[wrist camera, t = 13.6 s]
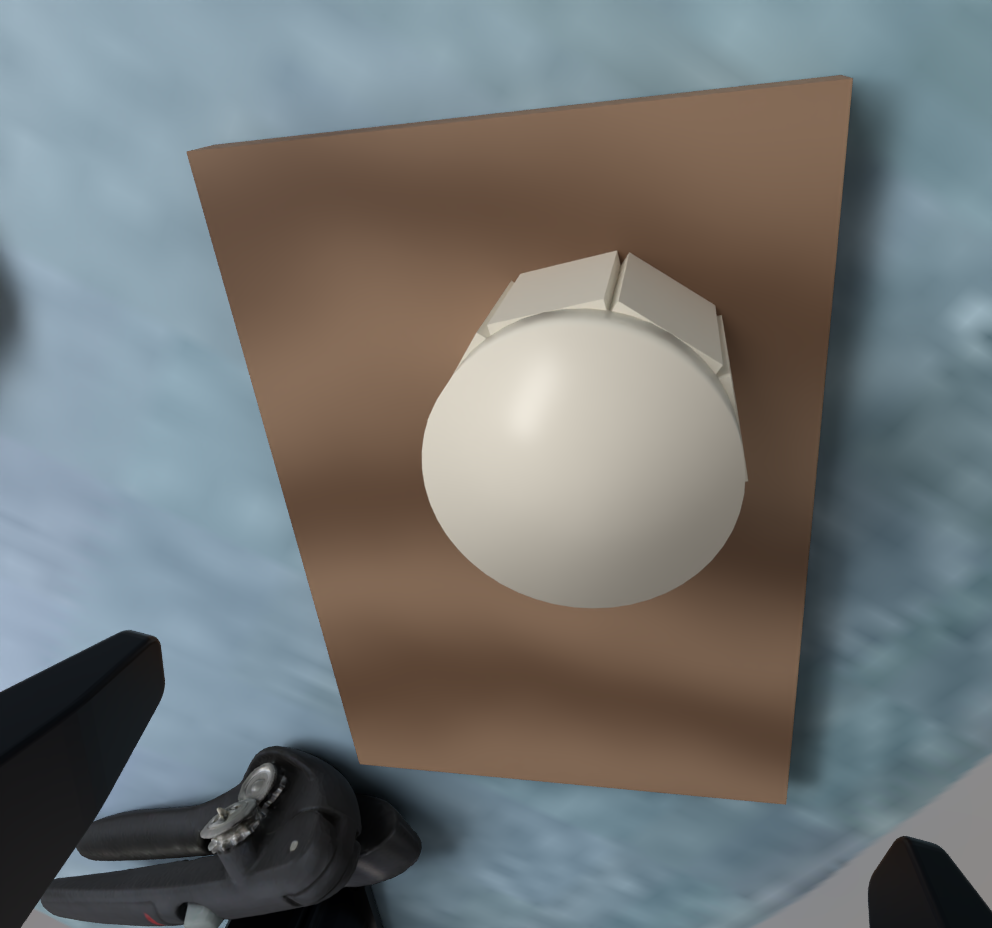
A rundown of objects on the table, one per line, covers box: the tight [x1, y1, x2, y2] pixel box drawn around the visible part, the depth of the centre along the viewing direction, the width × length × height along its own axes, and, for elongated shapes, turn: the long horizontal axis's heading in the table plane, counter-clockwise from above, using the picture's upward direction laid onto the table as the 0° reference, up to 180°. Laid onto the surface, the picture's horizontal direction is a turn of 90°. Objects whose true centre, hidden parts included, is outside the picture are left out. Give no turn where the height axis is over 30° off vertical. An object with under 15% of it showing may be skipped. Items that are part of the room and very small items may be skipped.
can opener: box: [41, 746, 422, 928], centre depth 30 cm, size 18×7×6 cm, turn 118°
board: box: [187, 75, 853, 804], centre depth 21 cm, size 20×14×1 cm
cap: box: [422, 251, 748, 608], centre depth 16 cm, size 6×6×4 cm
